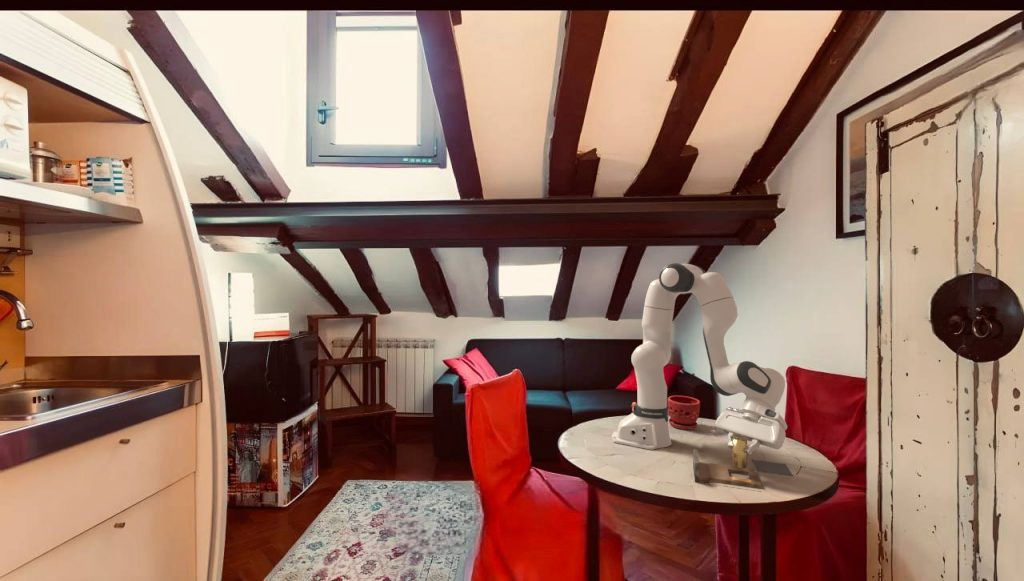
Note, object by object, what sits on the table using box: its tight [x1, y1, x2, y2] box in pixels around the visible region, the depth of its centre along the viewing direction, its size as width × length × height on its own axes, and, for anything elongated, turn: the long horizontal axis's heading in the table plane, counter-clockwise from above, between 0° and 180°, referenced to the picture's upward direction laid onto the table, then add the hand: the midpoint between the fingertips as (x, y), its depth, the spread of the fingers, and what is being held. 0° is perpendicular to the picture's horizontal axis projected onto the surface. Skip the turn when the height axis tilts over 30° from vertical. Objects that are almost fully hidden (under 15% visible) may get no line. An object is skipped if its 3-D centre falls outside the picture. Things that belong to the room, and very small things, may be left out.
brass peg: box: [731, 437, 748, 468], centre depth 132 cm, size 4×4×8 cm
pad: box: [751, 459, 794, 477], centre depth 139 cm, size 10×10×1 cm
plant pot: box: [667, 395, 701, 430], centre depth 184 cm, size 13×13×12 cm
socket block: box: [692, 448, 762, 493], centre depth 133 cm, size 18×12×6 cm, turn 69°
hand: (738, 450), depth 131 cm, fingers closed on brass peg, 4 cm apart
